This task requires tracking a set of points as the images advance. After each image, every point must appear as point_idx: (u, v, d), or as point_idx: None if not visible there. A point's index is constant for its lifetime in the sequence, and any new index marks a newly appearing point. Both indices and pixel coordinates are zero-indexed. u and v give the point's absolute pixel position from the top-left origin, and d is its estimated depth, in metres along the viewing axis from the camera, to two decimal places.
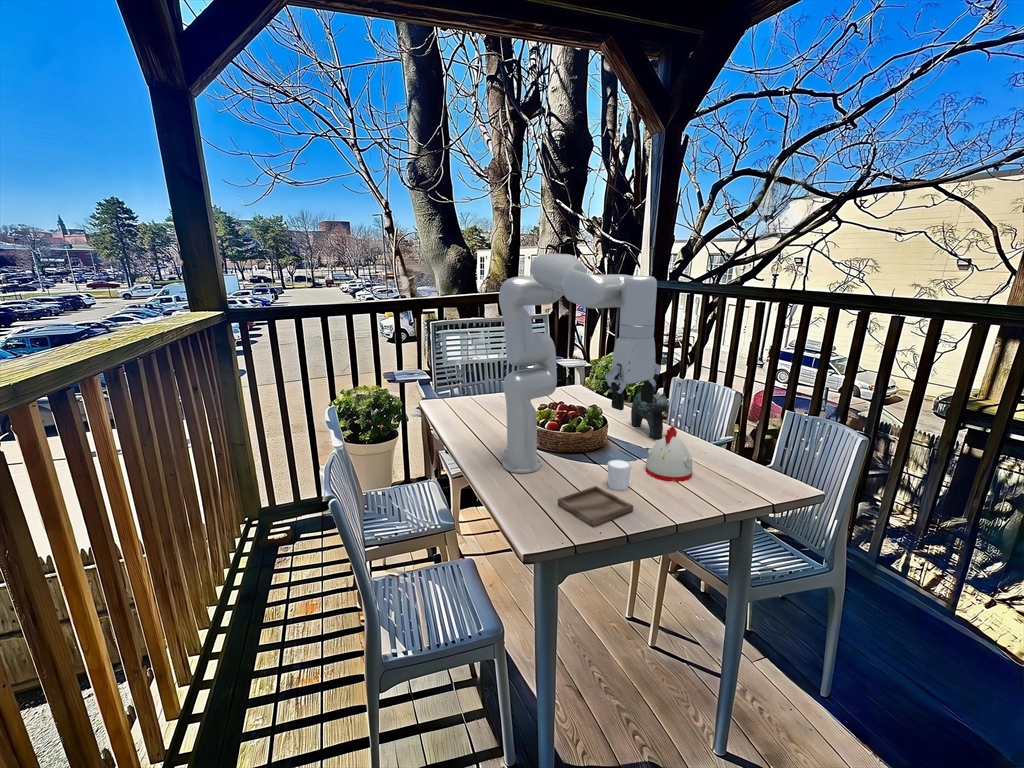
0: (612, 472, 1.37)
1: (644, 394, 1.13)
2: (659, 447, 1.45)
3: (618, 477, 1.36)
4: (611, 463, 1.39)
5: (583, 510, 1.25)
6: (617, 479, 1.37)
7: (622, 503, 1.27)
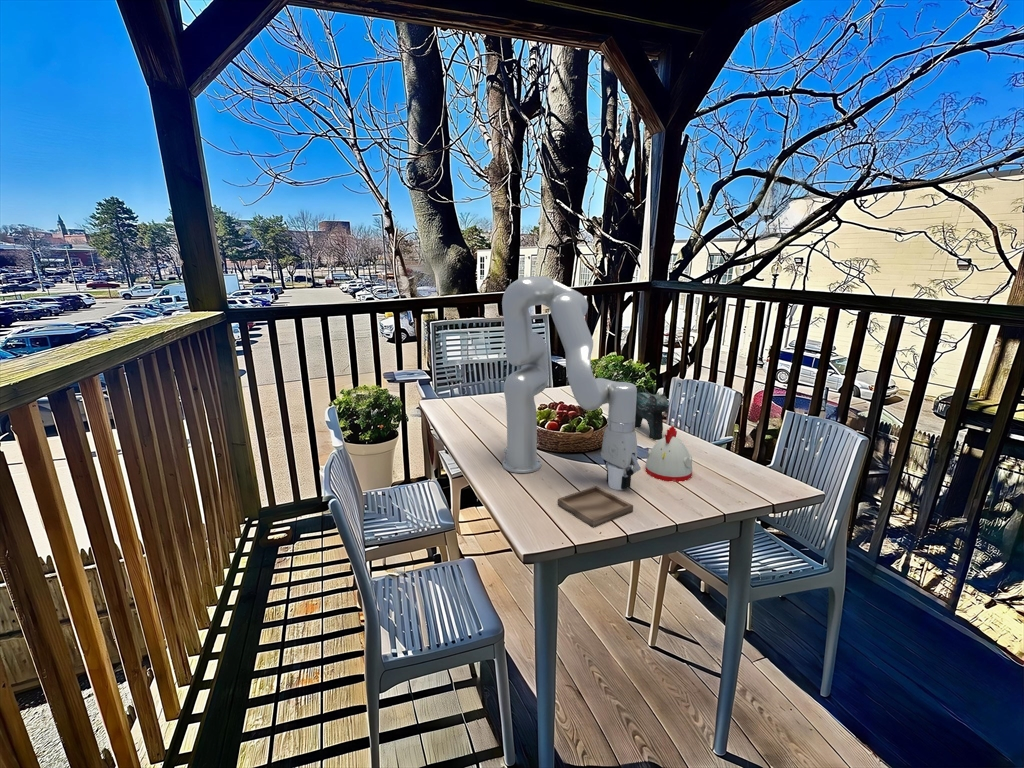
0: (612, 472, 1.37)
1: None
2: (659, 447, 1.45)
3: (618, 477, 1.36)
4: (611, 463, 1.39)
5: (583, 510, 1.25)
6: (617, 479, 1.37)
7: (622, 503, 1.27)
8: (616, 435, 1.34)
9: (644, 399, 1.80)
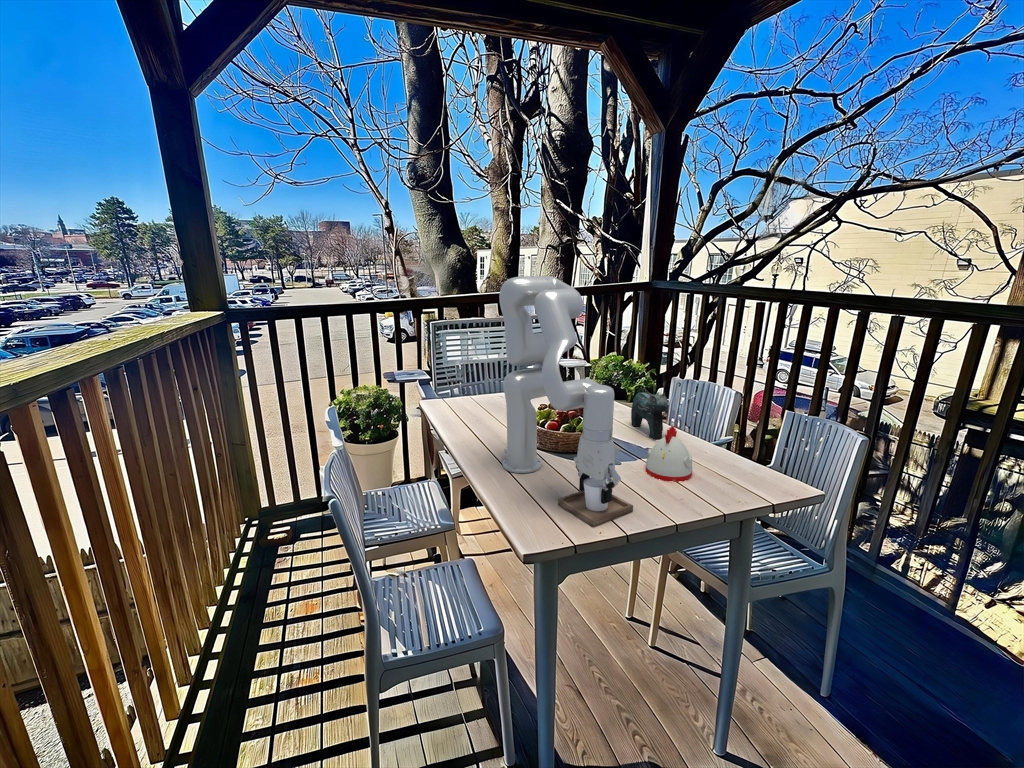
0: (589, 491, 1.24)
1: None
2: (659, 447, 1.45)
3: (595, 497, 1.23)
4: (588, 481, 1.26)
5: (583, 510, 1.25)
6: (594, 499, 1.23)
7: (622, 503, 1.27)
8: (591, 444, 1.21)
9: (644, 399, 1.80)
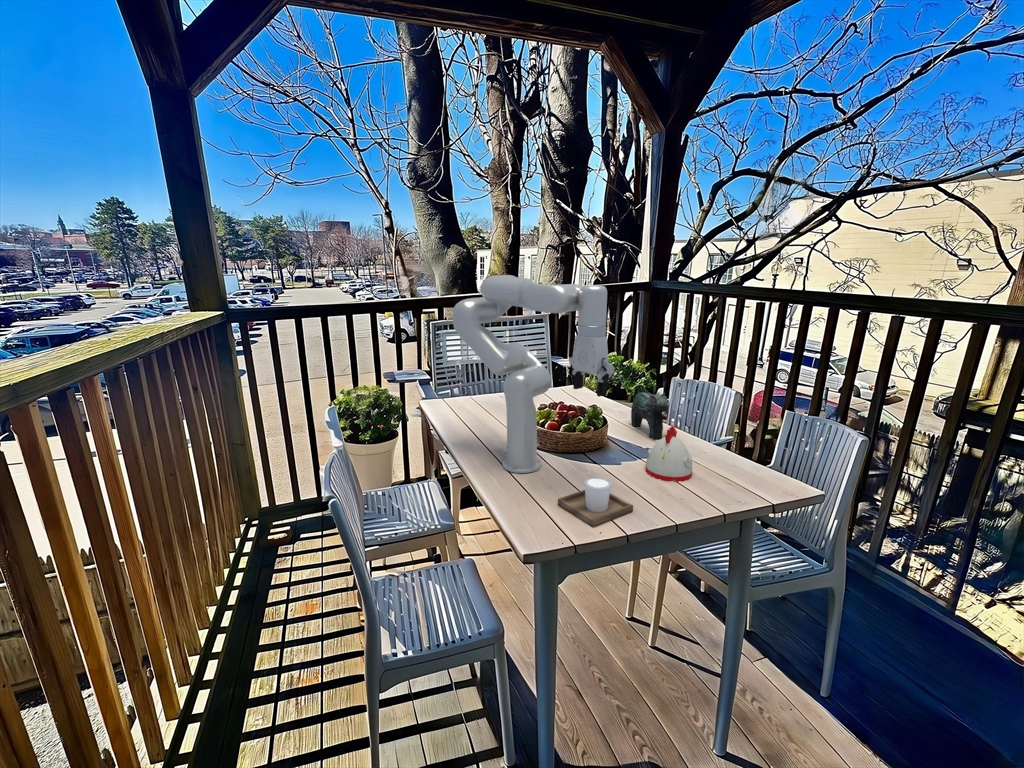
0: (590, 492, 1.23)
1: (578, 382, 1.37)
2: (659, 447, 1.45)
3: (596, 498, 1.23)
4: (589, 482, 1.26)
5: (583, 510, 1.25)
6: (595, 500, 1.23)
7: (622, 503, 1.27)
8: (586, 340, 1.29)
9: (644, 399, 1.80)
